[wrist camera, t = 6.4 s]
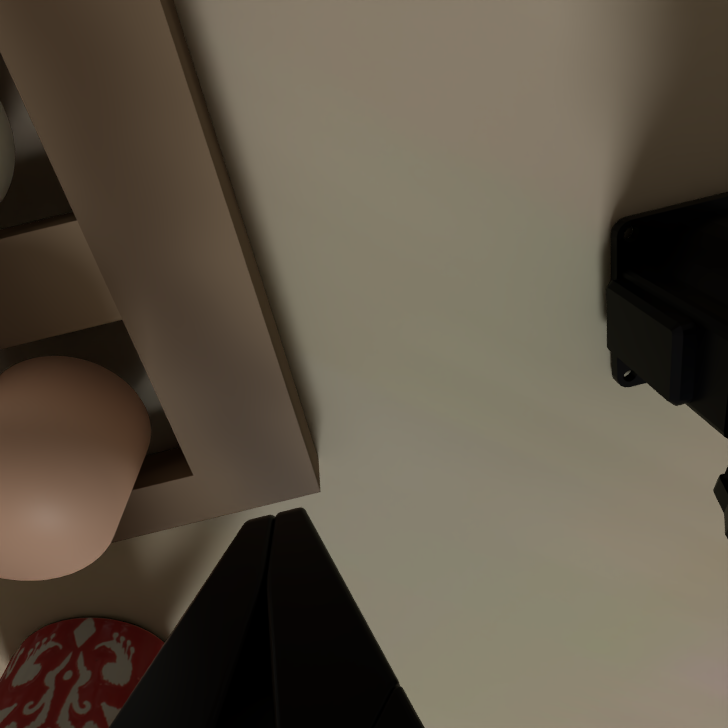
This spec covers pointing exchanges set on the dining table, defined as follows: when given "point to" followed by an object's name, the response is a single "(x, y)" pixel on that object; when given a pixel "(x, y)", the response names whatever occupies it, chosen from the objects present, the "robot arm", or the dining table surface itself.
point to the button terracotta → (64, 463)
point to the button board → (151, 255)
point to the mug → (75, 674)
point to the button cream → (6, 153)
